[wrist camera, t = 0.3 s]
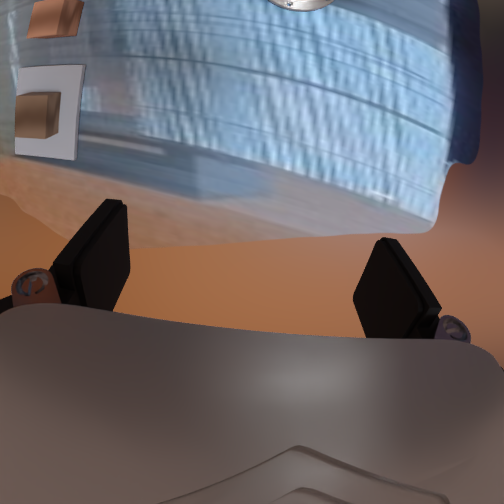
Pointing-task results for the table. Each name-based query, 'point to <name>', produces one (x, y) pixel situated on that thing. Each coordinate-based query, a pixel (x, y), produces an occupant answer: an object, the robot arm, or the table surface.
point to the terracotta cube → (55, 18)
